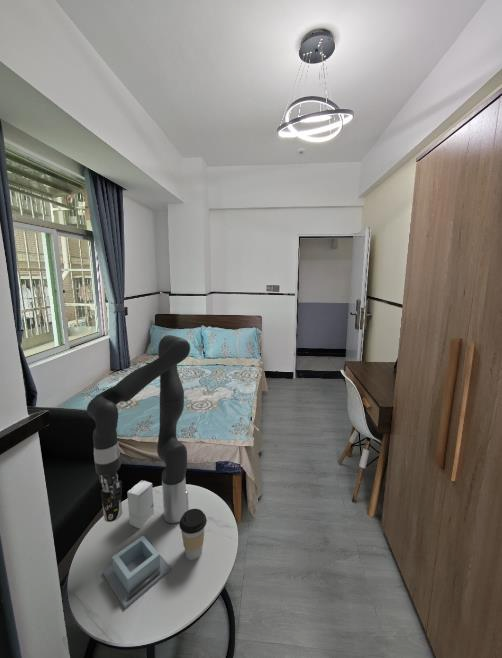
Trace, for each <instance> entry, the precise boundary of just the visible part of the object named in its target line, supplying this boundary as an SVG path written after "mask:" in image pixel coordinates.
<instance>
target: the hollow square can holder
mask: <svg viewBox="0 0 502 658" xmlns="http://www.w3.org/2000/svg"><path fill="white" fill-rule="evenodd" d="M111 557H112V564H111V565H109V566H108V567H106V568H105V569H104V570H103V571H102V574H103V576H104V578H105V579H106V581H107V582H108V584H109V586H110V587H111V590H112V591H113V592H114V594H115V595H116V597H117V599H118V601H120V604H121V605H122V607H123V608H124V610H127V608H129V607H130V606H131V605H132V604H133V603H135V602H136V601H137V600H138V599H139V598H140V597H142V595H144V594H145V593H147V591H149V589H151V588H152V587H153V586H154V585H156V584H157V583H158V582H159V581H160V580H161V579H162V578H163V577H165V576H166V575H167V574H168V573H170V571H171V570H172V567H171V566H170V564H169V563H168V562H167V561H166V560H165V559H164V557H162V555H161V554H160V553H159V551H158V550H157V549H156V548H155V547H154V546H153V545H152V544H151V543H150V541H149V540H148V539H147V538H146V537H145V536H144V535H141V536H140V537H138V538H137V539H135V540H134V541H133V542H131V543H130V544H128V545H127V546H125V547H124V548H123V549H121V550H120V551H119V552H116V553H115V554H114V555H113V556H111Z"/></svg>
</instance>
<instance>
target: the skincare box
mask: <svg viewBox="0 0 502 658" xmlns="http://www.w3.org/2000/svg"><path fill="white" fill-rule="evenodd" d="M126 493H127V494H126V495H127V506H128V518H129V519H128V520H129V525H130V526H132V527H135V528H136V529H139V530H141V529H142V528H143V527H144V526H145V524H146V523H147V522H148V521H149V520H150V519H151V518H152V517H153V516H154V515H155V511H154V510H155V509H154V508H155V507H154V493H153V483H152V482H149V481H147V480H143V479H142V480H140V481H139V482H138V483H137V484H135V485H133V487H131V489H129V490H128V491H127V492H126Z"/></svg>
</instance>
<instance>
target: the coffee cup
mask: <svg viewBox="0 0 502 658" xmlns="http://www.w3.org/2000/svg"><path fill="white" fill-rule="evenodd" d="M207 522H208V520H207V516H206V514H205V512H204V511H202V510H201V509H200V508H191V509H190V508H189V510H188V511H186V512H185V513H184V514H183V516H182V517H181V519H180V522H179V529H180V530H181V537H182V543H183V547H184V552H185V556H186V557H185V558H186V559H188V560H189V561H195V560H198V559H199V558H200V557H201V556H202V554H203V546H204V539H205V527H206V525H207Z"/></svg>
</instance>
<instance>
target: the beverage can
mask: <svg viewBox="0 0 502 658" xmlns="http://www.w3.org/2000/svg"><path fill="white" fill-rule="evenodd" d="M112 486H113V485H112ZM112 486H110V488H111V487H112ZM112 492H113V491H112ZM100 496H101V502H102V503H101V504H102V511H103V519H104V521H105V522H107V523H113V522H115V521H117V520H119V519H120V518H121V517H122V515H123V505H122V495H121V496H120V497H119V505H117V506H115V507H113V506H112V501H111V495H110V492H109V491H108V490H107V486H106V485H105V486H104V487H102V490H101V495H100Z"/></svg>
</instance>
